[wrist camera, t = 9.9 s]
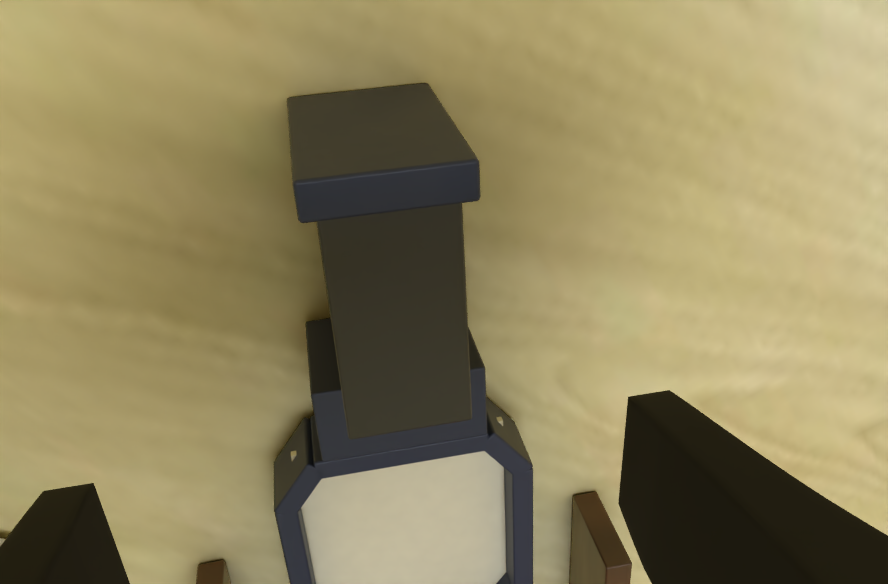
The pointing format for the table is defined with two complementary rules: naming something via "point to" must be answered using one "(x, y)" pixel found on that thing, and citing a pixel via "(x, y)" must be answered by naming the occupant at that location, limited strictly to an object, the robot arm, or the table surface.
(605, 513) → the frame
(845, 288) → the table surface
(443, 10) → the table surface
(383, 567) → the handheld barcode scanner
